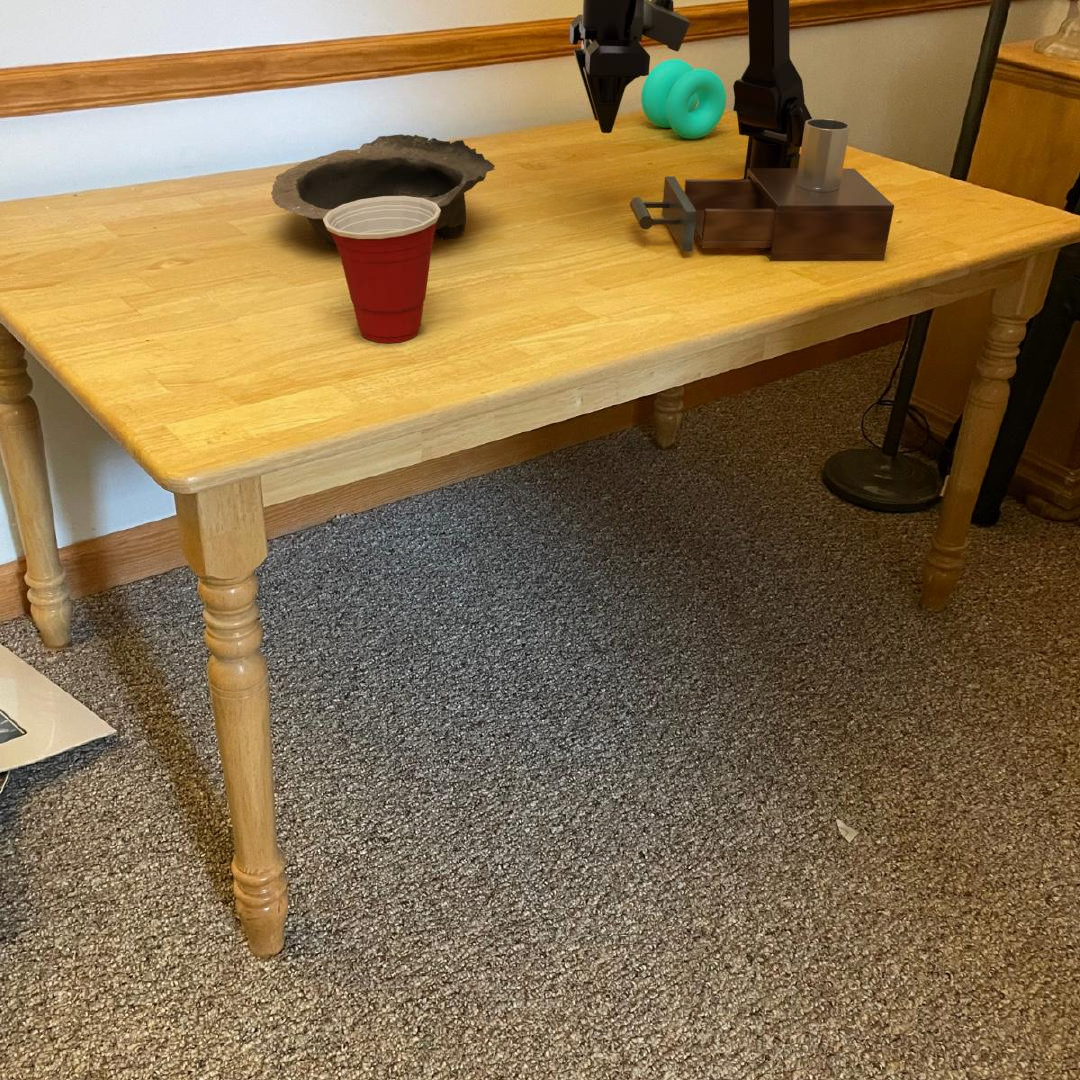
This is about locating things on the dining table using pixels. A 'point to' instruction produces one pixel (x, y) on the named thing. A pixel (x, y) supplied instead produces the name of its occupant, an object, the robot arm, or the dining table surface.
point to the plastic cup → (386, 261)
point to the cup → (822, 155)
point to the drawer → (712, 213)
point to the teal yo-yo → (683, 98)
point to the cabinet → (824, 218)
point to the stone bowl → (385, 179)
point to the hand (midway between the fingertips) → (603, 126)
